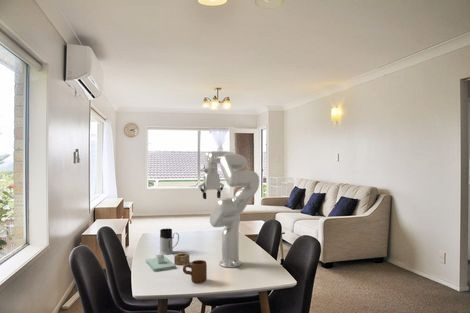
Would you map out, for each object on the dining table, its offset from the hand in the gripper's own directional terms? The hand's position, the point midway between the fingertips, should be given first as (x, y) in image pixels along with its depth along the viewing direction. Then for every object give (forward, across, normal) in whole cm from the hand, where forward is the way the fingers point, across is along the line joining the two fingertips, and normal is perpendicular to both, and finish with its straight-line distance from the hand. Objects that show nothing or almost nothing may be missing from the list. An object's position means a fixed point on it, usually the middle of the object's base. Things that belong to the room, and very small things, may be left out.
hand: (211, 198), depth 222 cm
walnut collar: (+36, -23, -8) cm, 43 cm away
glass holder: (+36, -22, +17) cm, 45 cm away
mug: (+36, -28, -40) cm, 60 cm away
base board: (+36, -35, -4) cm, 50 cm away
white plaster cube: (+34, -35, -4) cm, 49 cm away
